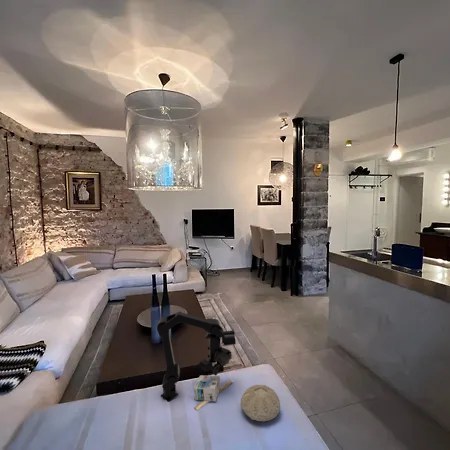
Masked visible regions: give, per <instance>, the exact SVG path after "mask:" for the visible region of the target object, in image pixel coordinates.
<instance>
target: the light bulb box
mask: <svg viewBox="0 0 450 450" xmlns="http://www.w3.org/2000/svg"><path fill="white" fill-rule="evenodd" d="M220 387H221V379H220V375H216V376H215V375H203V374H202V375H199V377H198V379H197V381H196V383H195V384H194V386H193V389H194V390H193V391H194V393H193V394H194V401H209V402H217V399H218V396H219V394H220V393H219V390H220ZM218 393H219V394H218Z"/></svg>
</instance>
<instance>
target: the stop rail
mask: <svg viewBox="0 0 450 450" xmlns="http://www.w3.org/2000/svg"><path fill="white" fill-rule="evenodd" d="M231 383H232V384H233V383H234V382H233V381H232V380H228V381H227V382H225V383H224V384H223V385H221V386H220V390H219V393H218V395H220V393H222V392H223V391H224V390H226V389H227V388H228V387H229V386H230V384H231ZM232 384H231V385H232ZM226 387H227V388H226ZM225 388H226V389H225ZM209 402H210V401H203V400H201V402H199V403H198V404H196V406H194V407H193V409H194V410H196V411H199V410H200V409H202V408H203V407H204V406H205V405H207V404H208V403H209Z"/></svg>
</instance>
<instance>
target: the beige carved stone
mask: <svg viewBox="0 0 450 450" xmlns="http://www.w3.org/2000/svg"><path fill="white" fill-rule="evenodd" d="M240 407H241V409H242V411H243V412H244V413H245V415H246V416H247V417H249V418H250V419H251V420H253V421H257V422H268V421H271V420H273V419H274V418H276V417H278V414H279V412H280V409H281V401H280V398H279V396H278V394H277V392H276V391H275V389H273V388H271V387H269V386H268V385H266V384H255V385H252V386H249V387H248V388H246V389H245V391H244V392H243V393H242V396H241V398H240Z"/></svg>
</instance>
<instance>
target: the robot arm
mask: <svg viewBox="0 0 450 450" xmlns="http://www.w3.org/2000/svg"><path fill="white" fill-rule="evenodd" d="M179 323H182V324H185V325H189V326H193V327H196V328H199V329H201V330H204V331H205V332H207V333H205V339H208V343H209V344H208V345H209V346H207V350H209V352H208V353H209V354H207V358H208V359H206V358H205V359H202V360H201V361H199V362H198V365H197V366H198V369H199V370H202V371H204V372H209V371H210V370H211V371H212V373H213V376H218V372H219V370H220V365H221V366H222V367H225V366H226V365H228V364H230V360H232V351H230V349H227V348H226V347H222V346H221V345H222V344H223V346H235V345H236V341H237V340H236V336H235V335H236V334H235V330H233V329H232V330H225V331H224V328H223V327H222V326H221V323H220V321H219V320H218V319H217V318H209V317H208V318H202V317H199V316H195V315H192V314H188V313H185V312H182V311H177V312H175V313H173V314H169V315H168V316H163V317H160V319H159V320H158V322H157V326H156V330H157V333H158V336H159V337H160V338H161V343H162V349H163V353H164V359H165V363H166V372H165V374H164V376H163V379H162V384H161V388H162V393H161V394H160V398H163V399H162V400H164V401H166V402H167V403H168V402H170V401H172V400H174V399H175V398H177V397H178V396H179V393H177V389H176V384H177V383H178V382H179V378H180V376H181V375H180V374H181V368H180V363H179V362H176V360H175V355H174V350H173V347H172V346H173V344H172V339H171V329H173V327H175V326H176V325H177V324H179Z"/></svg>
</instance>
